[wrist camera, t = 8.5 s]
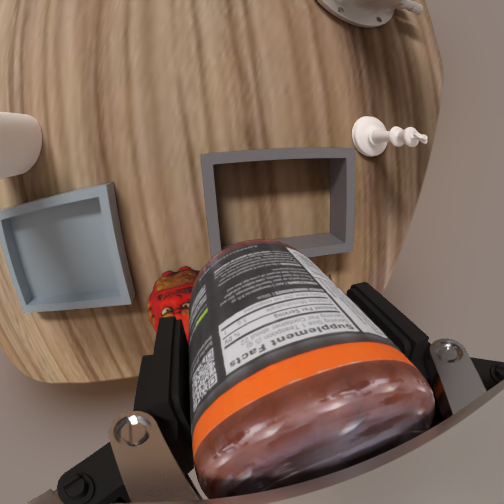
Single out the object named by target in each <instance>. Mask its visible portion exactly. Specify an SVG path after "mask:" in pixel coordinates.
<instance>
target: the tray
mask: <svg viewBox="0 0 504 504" xmlns="http://www.w3.org/2000/svg"><path fill="white" fill-rule="evenodd" d="M0 242H1V246H2V250H3V253H4V257H5V260H6V264H7V267H8V270H9V273H10V276H11V279H12V282H13V285H14V288H15V291H16V293H17V296H18V299H19V301H20V304H21V307H22V309H23V311H24V313H27V312H44V311H59V310H72V309H85V308H97V307H108V306H118V305H129V304H132V302H133V299H134V296H135V294H136V293H135V289H134V286H133V282H132V278H131V273H130V269H129V265H128V260H127V256H126V251H125V247H124V242H123V237H122V232H121V226H120V221H119V215H118V209H117V203H116V197H115V190H114V183H113V182H111V183H106V184H101V185H96V186H91V187H86V188H82V189H77V190H73V191H69V192H64V193H60V194H56V195H52V196H48V197H44V198H40V199H37V200H33V201H29V202H26V203H22V204H19V205H15V206H12V207H8V208H5V209H3V210H0Z"/></svg>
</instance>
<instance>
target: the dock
mask: <svg viewBox="0 0 504 504" xmlns="http://www.w3.org/2000/svg"><path fill="white" fill-rule="evenodd" d="M304 158H329V159H330V233H324V234H316V235H307V236H298V237H290V238H281V239H273V240H275V241H279V242H282V243H285V244H288V245H290V246H292V247H294V248H296V249H297V250H298V251H300V252H301V253H303V254H304V255H305V256H306V257H307V258H308V257H315V256H322V255H329V254H336V253H343V252H350V251H353V242H354V218H355V148H278V149H258V150H243V151H230V152H219V153H209V154H201V165H202V176H203V187H204V197H205V206H206V215H207V224H208V233H209V242H210V250H211V258H212V257H213V256H215V255H216V254H217V253H219V252H220V251H222V250H224V249H226V248H227V247H229V246H232V245H234V244H231V245H223V246H221V243H220V234H219V224H218V214H217V204H216V193H215V182H214V171H213V165H214V164H224V163H235V162H248V161H262V160H279V159H304Z"/></svg>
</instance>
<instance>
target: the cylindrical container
mask: <svg viewBox="0 0 504 504" xmlns="http://www.w3.org/2000/svg"><path fill="white" fill-rule="evenodd" d="M41 147H42V131H41V128H40V125H39V123H38V121H37V120H36V119H35V118H33V117H32V116H29V115H25V114H16V113H7V112H0V179H3V178H7V177H11V176H16V175H20V174H23V173H25V172H27V171H28V170H30V169H31V168H32V167H33V165H34V164H35V163H36V161H37V159H38V157H39V154H40V151H41Z"/></svg>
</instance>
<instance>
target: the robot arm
mask: <svg viewBox="0 0 504 504" xmlns="http://www.w3.org/2000/svg"><path fill="white" fill-rule="evenodd" d="M317 2H318V3H319V4H320V5H322V6H323V7H324V8H325V9H326V10H327V11H329V12H330V13H331V14H333V15H334V16H336V17H338V18H339V19H341V20H343V21H345V22H347V23H349V24H352V25H356V26H359V27H365V28H374V27H378V26H381V25H383V24H385V23H387V22H388V21H389V20H390V19H391V18H392V16H393V13H394V9H396V8H398V9H407V10H408V11H410V12H413V13H415V14H418V15H420V14H422V12H423V6H422V5H421V4H419V3H417V2H415V1H412V0H317ZM347 296H348V297H349V298H350V299H351V300H352V301H353V302H354V303H356V304H357V305H358V306H359V307H360V309H361V310H362V311H363V312H364V313H366V314H367V316H368V317H369V318H370V319H371V320H372V321H373V322H374V323H375V324H376V325H377V326H378V327H379V328H380V329H381V330H382V331H383V332H384V333H385V334H386V336H387V337H388V338H389V339H390V340H391V341H392V342H393V343H394V344H395V345H396V346H397V347H398V348H399V349H400V350H401V352H402V353H403V354H404V355H405V356H406V357H407V359H408V360H409V361H410V362H411V363H412V364H413V365H414V366H415V367H416V368H417V369H418V370H419V371H420V373H421V374H422V375H423V377H424V378H425V379H426V381H427V383H428V384H429V386H430V387H431V389H432V392H433V396H434V399H435V413H434V414H435V416H434V418H433V421H432V425H431V428H430V430H428V431H426V432H424V433H422V434H421V435H419V436H417V437H415V438H413V439H411V440H409V441H407V442H406V443H404V444H402V445H400V446H398V447H395V448H393V449H391V450H389V451H387V452H385V453H383V454H380V455H378V456H376V457H374V458H371V459H369V460H366V461H364V462H362V463H359V464H356V465H354V466H351V467H349V468H346V469H343V470H340V471H337V472H335V473H332V474H329V475H325V476H322V477H319V478H316V479H312V480H309V481H305V482H302V483H298V484H294V485H290V486H286V487H282V488H278V489H273V490H268V491H263V492H258V493H252V494H246V495H240V496H233V497H225V498H217V499H207V500H204V499H203V498H202V496H201V495H200V493H199V492H198V490H197V488H196V487H195V485H194V483H193V482H192V480H191V478H190V477H189V475H188V473H189V472H190V471H191V470H192V469H193V468H194V459H193V448H192V436H191V418H190V393H189V349H188V341H187V338H186V334H185V330H184V326H183V322H182V319H178V320H176V317H175V316H169V317H162V318H159V323H158V329H157V335H156V341H155V347H154V354H153V355H145V356H143V358H142V362H141V367H140V373H139V378H138V384H137V391H136V396H135V403H134V410H133V411H130V412H126V413H124V414H121V415H119V416H118V417H117V418H116V419H114V420H113V422H112V423H111V425H110V427H109V431H108V433H109V440H110V442H109V443H107V444H106V445H105V446H103V447H102V448H100V449H99V450H98V451H96V452H95V453H93V454H92V455H90V456H89V457H88V458H86V459H85V460H83V461H82V462H80V463H79V464H77V465H76V466H74V467H73V468H71V469H70V470H69V471H67V472H65V474H63V475H62V476H61V478H60V479H59V481H58V485H57V489H56V490H55V491H53V490H51V489H49V490H48V491H46V492H44V493H43V494H41V495H39V496H38V497H36V498H34V499H32V500H31V501H29V502H27V503H25V504H504V362H497V361H491V360H484V359H477V358H471V357H469V355H468V353H467V351H466V349H465V348H464V347H463V345H461V344H460V343H459V342H457V341H455V340H451V339H439V340H436V341H434V342H433V343H432V344H430V343H429V342H428V339H429V337H428V336H427V335H426V334H425V333H424V332H423V331H421V330H420V329H419V328H418V327H417V326H416V325H415V324H414V323H413V322H412V321H410V320H409V319H408V318H407V317H406V316H405V315H404V314H403V313H401V312H400V311H399V310H398V309H397V308H396V307H395V306H393V305H392V304H391V303H390V302H389V301H388V300H387V299H386V298H384V297H383V296H382V295H381V294H380V293H379V292H377V291H376V290H375V289H374V288H373V287H372V286H370V285H369V284H368V283H366V282H363V283H358V284H354V285H352V286H351V288H350V289H349V290H348V291H347Z"/></svg>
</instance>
